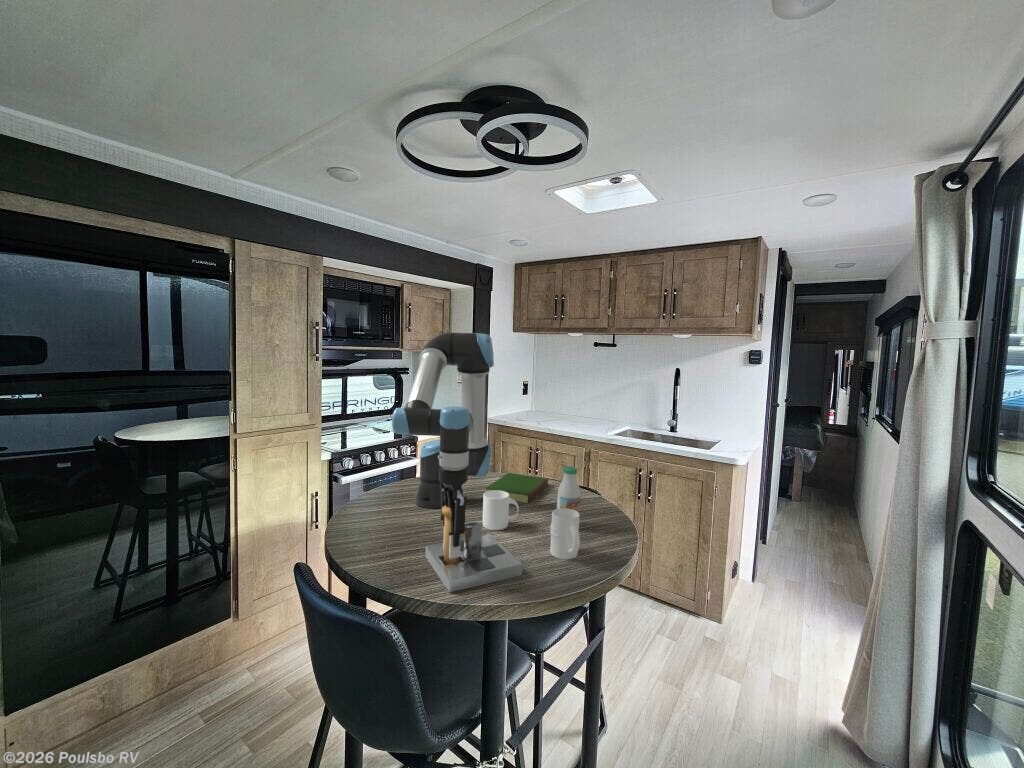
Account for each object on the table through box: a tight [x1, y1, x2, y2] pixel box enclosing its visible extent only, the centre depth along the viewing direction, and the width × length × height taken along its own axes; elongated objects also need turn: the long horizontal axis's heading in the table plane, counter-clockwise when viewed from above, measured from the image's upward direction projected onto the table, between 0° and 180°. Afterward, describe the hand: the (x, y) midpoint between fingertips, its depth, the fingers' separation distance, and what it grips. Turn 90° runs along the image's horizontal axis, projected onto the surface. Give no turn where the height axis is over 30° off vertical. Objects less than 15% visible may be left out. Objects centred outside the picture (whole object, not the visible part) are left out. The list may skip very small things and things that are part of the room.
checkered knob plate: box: [424, 522, 523, 593], centre depth 118 cm, size 20×20×11 cm
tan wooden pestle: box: [442, 506, 459, 566], centre depth 115 cm, size 6×6×15 cm
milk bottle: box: [556, 465, 581, 519], centre depth 147 cm, size 8×8×20 cm
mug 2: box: [549, 508, 581, 560], centre depth 125 cm, size 8×12×12 cm
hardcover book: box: [485, 472, 549, 504], centre depth 182 cm, size 25×19×4 cm
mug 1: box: [482, 490, 520, 531], centre depth 145 cm, size 9×12×11 cm
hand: (451, 553), depth 115 cm, fingers closed on tan wooden pestle, 4 cm apart
